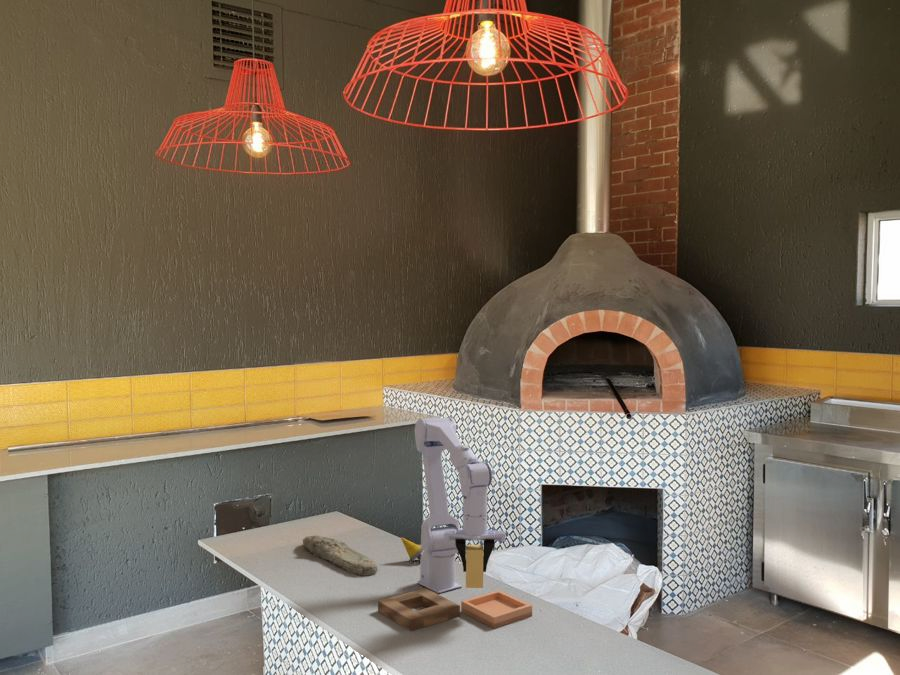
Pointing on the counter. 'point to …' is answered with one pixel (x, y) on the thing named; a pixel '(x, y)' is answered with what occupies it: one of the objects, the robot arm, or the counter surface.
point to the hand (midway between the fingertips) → (474, 570)
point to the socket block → (412, 620)
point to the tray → (496, 608)
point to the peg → (474, 566)
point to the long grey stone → (340, 555)
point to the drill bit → (412, 549)
